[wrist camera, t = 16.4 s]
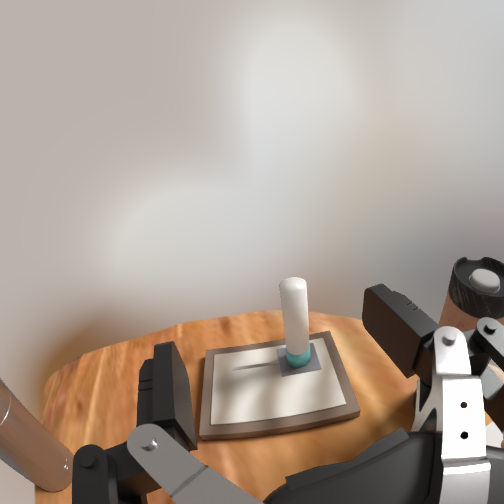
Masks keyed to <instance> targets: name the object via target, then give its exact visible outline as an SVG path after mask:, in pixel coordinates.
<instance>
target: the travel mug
mask: <svg viewBox="0 0 504 504" xmlns="http://www.w3.org/2000/svg"><path fill="white" fill-rule="evenodd" d="M484 317H489V318H493V319H495V320H497V321H498V322H499V323H501V324H502V325H503V326H504V264H503V263H501V262H500V261H497V260H495V259H492V258H489V257H484V258H482V259H481V260H474V261H473V260H468V259H467V257H462V258H460V259H459V260H457V262H456V263H455V264H454V267H453V271H452V276H451V280H450V284H449V289H448V292H447V296H446V300H445V304H444V307H443V311H442V315H441V318H440V321H439V326H440V327H444V326H451V327H454V328H457V329H458V330H460V331H461V332H466V331H470V330H474V329H475V328H476V325H477V322H478V321H479V320H480V319H481V318H484ZM416 397H417V389H416V392H415V395H414V401H413V403H414V408H415V410H416Z"/></svg>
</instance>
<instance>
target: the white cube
mask: <svg viewBox="0 0 504 504" xmlns="http://www.w3.org/2000/svg"><path fill="white" fill-rule="evenodd" d="M502 441H503V434H502V433H501V431H500V430H499V428H498V427H497V426H496V424H495V423H494V422H492V423H490V424H489V425H487V426H485V445H489V446H494V447H499V448H501V442H502Z"/></svg>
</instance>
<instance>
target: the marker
mask: <svg viewBox="0 0 504 504" xmlns="http://www.w3.org/2000/svg"><path fill="white" fill-rule="evenodd" d="M279 287H280V296H281V304H282V313H283V322H284V330H285V339H286V355H287V362H288V364H289V365H290V366H292V367H296V368H299V367H304V366H306V365H307V364H308V363H309V362H310V344H309V324H308V303H307V286H306V281H305V280H304V279H302V278H298V277H292V278H287V279H284V280H283V281H281V283H280V284H279Z"/></svg>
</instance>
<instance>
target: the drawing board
mask: <svg viewBox="0 0 504 504" xmlns="http://www.w3.org/2000/svg"><path fill="white" fill-rule="evenodd" d="M309 344H310V362H309V363H308V364H307V365H306V366H304V367H299V368H296V367H292V366H290V365H289V364H288V362H287V355H286V339H283V340H277V341H271V342H264V343H258V344H251V345H244V346H236V347H228V348H220V349H211V350H206V358H205V368H204V380H203V391H202V404H201V417H200V431H199V436H200V437H201V439H202V440H220V439H235V438H246V437H256V436H264V435H272V434H279V433H285V432H291V431H297V430H303V429H308V428H313V427H318V426H322V425H327V424H331V423H335V422H339V421H343V420H347V419H351V418H355V417H358V416H359V414H360V411H361V410H360V408H359V405H358V402H357V400H356V397H355V394H354V392H353V389H352V386H351V384H350V381H349V379H348V376H347V373H346V371H345V368H344V366H343V363H342V361H341V358H340V355H339V353H338V350H337V348H336V345H335V343H334V340H333V338H332V336H331V333H330V331H325V332H320V333H315V334H310V335H309Z"/></svg>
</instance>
